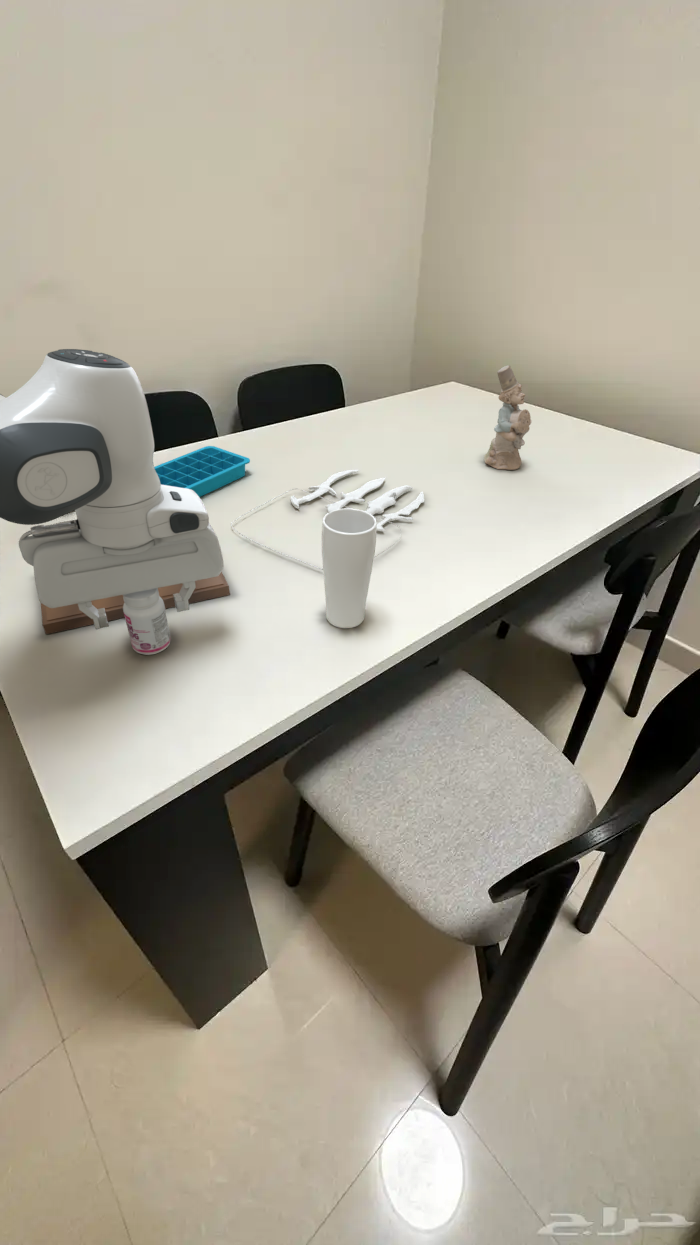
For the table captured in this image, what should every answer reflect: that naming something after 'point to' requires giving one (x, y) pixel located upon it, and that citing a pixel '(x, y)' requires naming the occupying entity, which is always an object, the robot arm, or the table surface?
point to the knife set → (357, 501)
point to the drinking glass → (347, 564)
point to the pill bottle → (146, 621)
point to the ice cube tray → (202, 470)
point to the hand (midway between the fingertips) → (143, 616)
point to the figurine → (509, 424)
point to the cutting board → (113, 606)
